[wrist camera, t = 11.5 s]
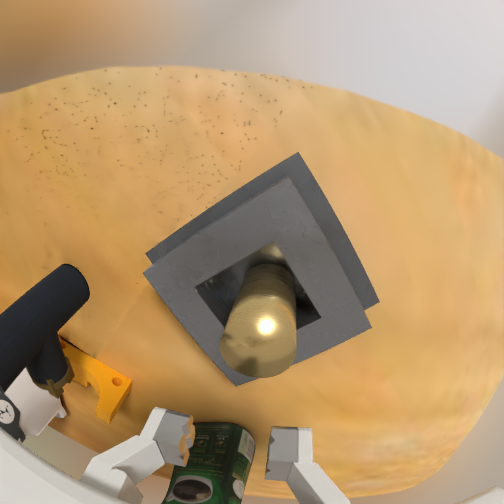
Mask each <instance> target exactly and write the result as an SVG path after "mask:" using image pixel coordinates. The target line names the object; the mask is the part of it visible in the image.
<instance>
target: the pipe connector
mask: <svg viewBox="0 0 504 504" xmlns="http://www.w3.org/2000/svg"><path fill="white" fill-rule="evenodd" d="M89 296H90V291H89V286H88V284H87V281H86V279H85V278H84V276H83V275H82V274H81V272H80V271H79V270H78V269H77V268H75V267H74V266H72V265H70V264H62V265H61V266H59V267H58V268H57V269H55V270H54V271H53V272H51V273H50V274H49V275H48V276H46V277H45V278H44V279H42V280H41V281H40V282H39V283H37V284H36V285H35V286H34V287H32V288H31V289H30V290H29V291H27V292H26V293H25V294H24V295H23V296H21V297H20V298H19V299H18V300H17V301H15V302H14V303H13V304H12V305H11V306H10V307H8V308H7V309H6V310H5V311H4V312H3V313H2V314H1V315H0V392H1V393H3V394H4V393H5V392H6V391H7V389H8V388H9V387H10V386H11V384H12V383H13V382H14V381H15V379H16V378H17V377H18V376H19V375H20V373H21V372H22V371H23V370H24V369H25V368H26V370H27V372H28V373H29V375H30V377H31V379H32V381H33V383H34V384H35V385H36V386H38V387H39V388H41V389H43V390H48V392H49V394H51V395H52V396H54V397H55V398H57V399H59V397H60V396H61V395H62V393H63V392H64V390H63V388H62V387H63V386H64V385H65V384H66V383H67V382H68V383H70V382H71V381H72V379H73V378H74V377H75V374H74V372H73V369H72V366H71V364H70V361H69V358H68V357H66V356H65V355H64V352H63V349H62V346H61V343H60V340H59V337H58V333H57V332H58V331H59V329H60V328H61V327H62V326H63V325H64V324H65V323H66V322H67V321H68V320H69V319H70V318H71V317H72V316H73V315H74V314H75V313H76V312H77V311H78V310H79V309H80V308H81V307H82V306H83V305H84V304H85V303H86V302H87V301H88V299H89Z"/></svg>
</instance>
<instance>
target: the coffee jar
mask: <svg viewBox="0 0 504 504" xmlns="http://www.w3.org/2000/svg"><path fill="white" fill-rule="evenodd" d="M193 425H194V426H195V439H194V443H193V446H192V447H190V448H189V449H188V450H189V454H190V455H189V458H188V461H187V464H186V467H183V466H179V465H174V469H173V474H172V478H171V481H170V485H169V488H168V491H167V494H166V497H165V498H164V500H163V502H162V503H161V504H241V501H242V497H243V493H244V489H245V486H246V482H247V479H248V475H249V472H250V468H251V465H252V461H253V457H254V453H255V442H254V439H253V437H252V435H251V434H250V433H249V432H248V431H247V430H246V429H245V428H243V427H241V426H239V425H237V424H233V423H217V422H216V423H193Z"/></svg>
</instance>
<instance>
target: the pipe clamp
mask: <svg viewBox="0 0 504 504" xmlns="http://www.w3.org/2000/svg"><path fill="white" fill-rule="evenodd" d="M58 337H59V340H60V343H61V346H62V349H63V352H64V355H65V356H66V357H68V358H69V361H70V364H71V366H72V369H73V372H74V374H75V377H74V378H73V379H72V381H75V382H78V383H80V384H82V385H84V386H85V387H88V386H89V384H91V385H92V386H93V387H94V389H95V390H96V392H97V395H98V398H99V401H98V404H97V405H96V416H97V417H99V418H100V419H102V420H104V421H105V422H107V423H109V424H110V423H111V421H112V419H113V418H114V416H115V414H116V413H117V411H118V410H119V408H120V406H121V405H122V403H123V401H124V400H125V398H126V396H127V395H128V393H129V392H130V388H131V383H132V380H130V379H128V378H127V377H125V376H123V375H121V374H120V373H118V372H116V371H114V370H113V369H111V368H109V367H108V366H106V365H104V364H103V363H101V362H100V361H98V360H96V359H95V358H93V357H92V356H90V355H89V354H87V353H85V352H84V351H82V350H81V349H80V348H78V347H77V346H75V345H74V344H72V343H71V342H69V341H68V340H67V339H65V338H64V337H62V336H61V335H60V334H59V335H58Z"/></svg>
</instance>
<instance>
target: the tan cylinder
mask: <svg viewBox="0 0 504 504" xmlns="http://www.w3.org/2000/svg"><path fill="white" fill-rule="evenodd" d="M220 352H221V355H222V357H223V359H224V361H225V362H226V363H227V364H228V365H229V366H230V367H231V368H232V369H234V370H235V371H237V372H239V373H241V374H243V375H246V376H249V377H255V378H267V377H272V376H276V375H278V374H281V373H282V372H284V371H286V370H287V369H288V368H289V367H290V366H291V365H292V363H293V362H294V360H295V357H296V289H295V282H294V279H293V278H292V276H291V275H290V273H289V272H288V271H287V270H285V269H284V268H282V267H280V266H278V265H275V264H261V265H257V266H255V267H253V268H252V269H250V270H249V271H248V272H247V273H246V275H245V276H244V278H243V280H242V283H241V286H240V288H239V291H238V294H237V296H236V299H235V302H234V304H233V307H232V310H231V312H230V315H229V318H228V321H227V323H226V326H225V329H224V331H223V334H222V337H221V340H220Z"/></svg>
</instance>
